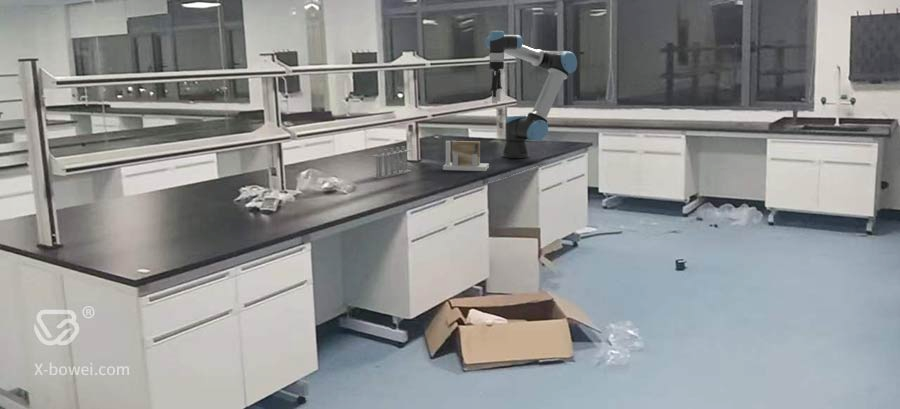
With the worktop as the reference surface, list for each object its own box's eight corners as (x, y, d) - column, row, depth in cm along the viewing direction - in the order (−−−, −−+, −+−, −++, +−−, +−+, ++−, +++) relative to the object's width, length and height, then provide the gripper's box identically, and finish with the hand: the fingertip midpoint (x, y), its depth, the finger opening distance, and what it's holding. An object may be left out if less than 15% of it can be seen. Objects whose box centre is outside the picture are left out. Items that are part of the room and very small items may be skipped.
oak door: (453, 163, 393) (453, 140, 390) (479, 164, 390) (480, 141, 388) (451, 165, 389) (451, 141, 387) (478, 165, 387) (479, 142, 384)
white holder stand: (447, 166, 398) (447, 139, 395) (488, 167, 395) (489, 140, 392) (442, 169, 387) (442, 142, 384) (485, 171, 383) (485, 143, 380)
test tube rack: (378, 179, 362) (378, 151, 359) (371, 178, 365) (371, 150, 362) (411, 171, 382) (411, 145, 379) (404, 171, 385) (404, 145, 382)
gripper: (492, 60, 407) (492, 100, 411) (486, 61, 383) (485, 104, 387) (506, 60, 406) (505, 100, 410) (501, 61, 382) (500, 104, 386)
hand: (496, 102), depth 399 cm, fingers open, 13 cm apart
